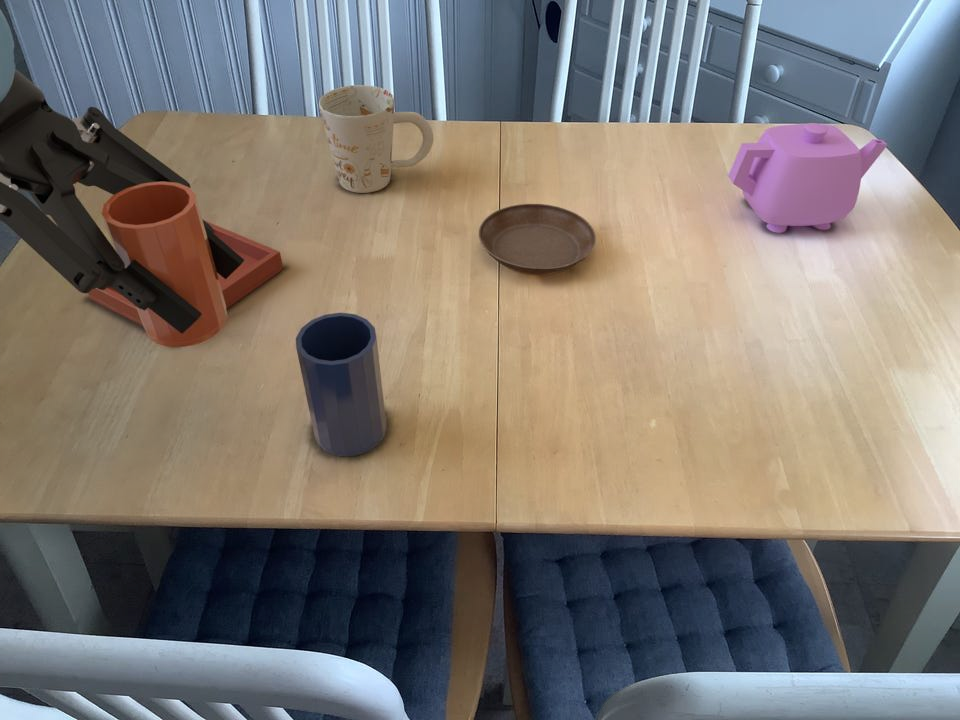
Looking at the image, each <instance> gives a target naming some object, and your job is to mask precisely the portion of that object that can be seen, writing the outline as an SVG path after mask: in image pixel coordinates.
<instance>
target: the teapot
mask: <svg viewBox="0 0 960 720" xmlns="http://www.w3.org/2000/svg"><path fill="white" fill-rule="evenodd" d="M887 147H888V143H887V142H885V140H883V139H875V138H872V139H871V140H870V141H869V142H868V143H866V144H865V145H863V146H862V147H861V148H859V147H858V146H857V145H856V144H855V142H854V141H853V140H851V139H850V137H848V136H847V134H845V133H844V132H843V131H842V130H841V129H839V127H837V126H835V125H831V124H825V123H817V122H808V123H794V124H785V125H776V126H771V127H769V128H766V129H765V130H764V131H763V133H762V134H761V135H760V137H759V138H758V139H757V141H756V142H742V143H741V144H740V146H739V149H738V152H737V154H736V156H735V159H734V161H733V164H732V166H731V168H730V170H729V173H728V175H727V177H728V179H729V180H730V182H731V183H732V184H733V185H734V186H736V187H737V188H739V189H740V190H741V191H742V195H743V196H744V198H745V200H746V202H747V203H748V205H749V206H750V208H751V209H752V211H754V213H755V214H756V216H758V217H759V218H760V219H761V220H762V221H763V222H765V223H766V228H767V229H768V231H770V232H773V233H777V234H781V233H782V234H783V233H785V232H786V231H787V228H788V226H791V227H792V226H793V227H802V226H803V227H805V226H808V227H809V226H812V227H813V228H815V229H816V230H817V229H818V230H821V231H826V230H830V229H831V223H836V222H839V221H842V220H844V219H845V218H847V216H848V215H849V214H850V213H851V212H852V211H853V210H854V208H855V206H856V204H857V200H858V197H859V194H860V188H861V182H862V178H864V176H865V175H866V173H867V172H868V171H869V169H870V168H871V167H872V166H873V164H874V163H875V162H876V161H877V160H878V158H880V156H881V154H882V153H883V152H884V150H885V149H886V148H887Z"/></svg>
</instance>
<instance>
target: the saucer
mask: <svg viewBox="0 0 960 720" xmlns="http://www.w3.org/2000/svg"><path fill="white" fill-rule="evenodd" d="M596 236H597V235H596V233H595V230H594V228H593V226H592V224H590V223H589V221H587V220H586V219H585V218H584V217H582V216H581V215H579V214H577V212H574V211H571V210H569V209H566V208H563V207H560V206H557V205H556V206H555V205H553V204H552V205H551V204H546V203H545V204H544V203H521V204H520V203H519V204H515V205H509V206H505V207H503V208H502V207H501V208H500V209H498V210H496V211H494V212H492V213H491V214H489V215H488V216H486V217H485V219H483V221H482V222H481V224H480V225H479V228H478V240H479V242H480V244H481V246H482V247H483V248H484V250H485V251H486V253H488V255H489V256H490V257H491V258H493V259H494V260H495V261H496V262H497V263H499V264H501V265H502V266H504V267H506V268H508V269H510V270H512V271H515V272H517V273H522V274H526V275H533V276H535V275H536V276H537V275H538V276H543V275H553V274H557V273H560V272H563V271H566V270H568V269H571V268H573V267H574V266H576V265H577V264H579V263H580V262H582V261H583V260H584V259H586V257H587V256H589V255H590V254H591V253H592V252H593V250H594V248H595V246H596V242H597V241H596V240H597V238H596Z"/></svg>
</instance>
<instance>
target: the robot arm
mask: <svg viewBox="0 0 960 720" xmlns="http://www.w3.org/2000/svg"><path fill="white" fill-rule="evenodd" d="M14 49H15V41H14V38H13V34H12V31H11V28H10V24H9V23H8V21H7V19H6V17H5V15H4V13H3V11H2V10H1V9H0V221H1V222H3V223H4V224H5V225H6V226H7V227H9V228H10V229H11V230H12V231H13V232H14V233H15V234H16V235H17V236H18V237H19V238H20V239H21V240H23V242H25V243H26V244H27V245H28V246H29V247H30V248H31V249H32V250H33V251H35V253H37V254H38V255H39V256H40V257H41V258H42V259H43V260H44V261H46V263H48V264H49V265H50V266H51V267H52V268H53V269H54V270H55V271H56V272H57V273H58V274H60V275H61V276H62V277H63V278H64V279H65V280H66V281H67V282H68V283H69V284H70V285H71V286H73V288H74V289H75V290H77V291H78V292H80V293H82V294H88V293H89V292H90V291H91V290H92V289H95V288H97V289H99V290H105V289H107V288H108V286H110V287H112V288H113V289H115V290H116V291H117V292H118V293H120V294H121V295H122V296H124V297H125V298H126V299H128V300H129V301H130V302H131V303H133V304H134V305H135V306H136V307H138V308H140V309H142V310H146V309H147V308H149V309H151V310H152V311H153V312H155V313H156V314H157V315H158V316H160V317H161V318H162V319H164V320H165V321H166V322H167V323H169V324H170V325H171V326H172V327H174V328H175V329H176V330H178V331H179V332H180V333H181V334H183V333H184V332H185V331H186V330H187V329H188V328H189V327H190V326H191V325H192V324H193V323H195V322H196V321H197V320H198V319H199V317H200V316H201V315H202V313H201V312H200V311H198V310H197V309H196V308H195V307H193V306H192V305H191V304H190V303H188V302H187V301H186V300H185V299H183V298H182V297H181V296H180V295H178V294H177V293H176V292H175V291H173V290H172V289H171V288H170V287H168V286H167V285H166V284H165V283H163V282H162V281H161V280H160V279H158V278H157V277H156V276H155V275H153V274H152V273H151V272H150V271H148V270H147V269H146V268H145V267H143V266H142V265H141V264H140V263H138V262H137V261H136V260H135V259H134V260H133V261H132V262H131V263H130V264H129V266H128V267H127V268H125V264H124V262H123V260H122V259H121V258H120V256H119V255H118V253H117V252H116V251H115V249H114V246H113V244H111V242H110V241H109V239H108V238H107V237H106V235H105V233H104V232H103V231H102V229H101V228H100V227H99V226H98V224H97V223H96V221H95V220H94V219H93V217H92V216H91V215H90V213H89V212H88V211H87V209H86V207H85V206H84V205H83V203H82V202H81V200H80V199H79V198H78V196H77V194H76V187H75V186H74V185H76V184H78V183H79V184H81V185H83V186H86V187H96V188H99V189H100V190H103V191H104V192H106V193H109V194H111V195H112V196H113V195H115V194H116V193H118V192H120V191H122V190H124V189H126V188H129V187H132V186H136V185H139V184H143V183H150V182H160V181H164V182H174V183H180V184H182V185H184V186H187V187H189V188H190V189H192V188H191V184H190V182H188V180H186V179H185V178H184V177H182V176H181V175H180V174H178V173H176V171H174V170H173V169H172V168H170V167H168V165H166V164H165V163H163V162H162V161H160V160H159V159H158V158H157V157H155V156H154V155H152V154H151V153H150V152H149V151H147V150H146V149H144V148H143V147H142V146H140V145H139V144H138V143H137V142H135V141H133V140H132V139H131V138H129V136H127V135H126V134H124V133H123V132H122V131H120V130H119V129H117V127H115V126H114V125H113V123H111V121H110V120H109V119H108V118H107V117H106V116H105V114H104V113H103V112H102V111H101V110H100V109H99V108H97V107H96V106H89V107H88V108H87V109H86V111H85V113H84V114H83V115H79V116H78V117H74V118H70V117H68V116H67V115H64V114H61V113H60V112H57V111H56V110H54V109H53V108H52V107H51V106H50V105H49V104H48V102H47V100H46V98H45V94H44V92H43V91H42V90H41V89H40V88H39V87H38V86H37V85H36V84H34V83H33V81H31V80H30V79H29V78H27V76H25V75H24V74H23V73H21V72H20V71H19V70H18V69H16V63H15V54H14V52H15V51H14ZM19 190H20V191H23V192H27V193H28V194H29V195H30V196H31V198H32V199H33V201H34V202H35V203H34V202H32V200H30V199H29V198H28V197H27V196H25V195H24V194H23V193H21V192H20V191H19ZM50 217H51V218H50ZM202 220H203V223H204V227H205V231H206V234H207V238H208V242H209V245H210V249H211V253H212V256H213V260H214V264H215V267H216V271H217V273H218V274H219V275H221V276H222V277H223V278H224V279H225V280H226V279H227V278H228V277H229V276H230V275H231V274H232V273H233V272H234V271H235V270H236V269H237V268H238V267H239V266H240V265H241V264H242V263H243V262H244V259H243V258H242V257H241V256H239V255H238V254H237V253H236V252H235V251H233V250H232V249H231V248H230V247H229V246H228V245H226V244H225V243H224V242H223V241H222V240H221V239H219V238H218V237H217V236H216V235H215V234H214V232H215V231H214V229H213V228H212V227H211V226H210V225H209V224H208V223H207V222H208V221H207V220H205V219H204V218H202ZM204 220H205V221H204ZM206 221H207V222H206Z"/></svg>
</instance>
